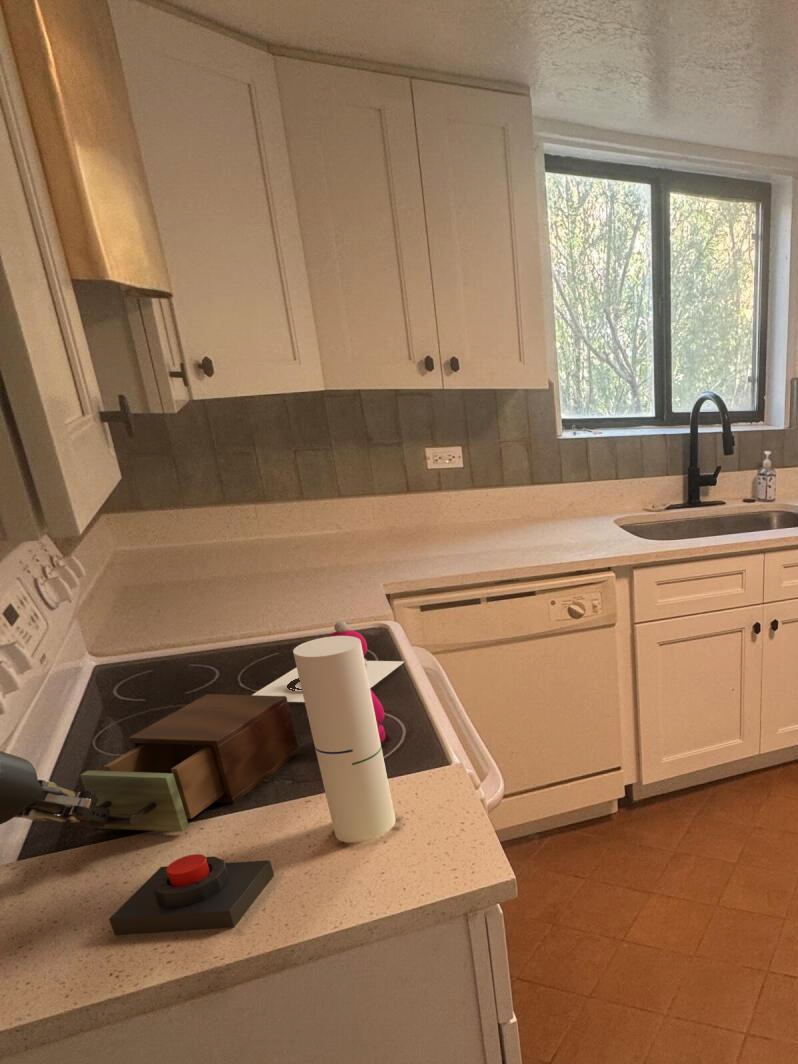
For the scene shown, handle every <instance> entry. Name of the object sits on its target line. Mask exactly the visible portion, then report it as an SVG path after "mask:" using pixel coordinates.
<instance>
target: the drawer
mask: <svg viewBox="0 0 798 1064" xmlns="http://www.w3.org/2000/svg"><path fill="white" fill-rule="evenodd" d="M102 768H103V770H86V771H84V772H82V773H81V774H80V775H79V776H80V779H81V782H82V784H83V787H84V791H86V790H87V791H91V792H93V793H95V795H96V797H97V799H98V802H97V804H96V806H100V807H103V808H107V809H109V810H110V814H109V817H108V819H107V822H106V824H105V826H104V827H97V828H98V829H103V830H104V829H105V830H106V829H107V830H128V831H129V830H131V831H151V832H153V831H154V832H177V833H179V832H180V833H183V832H184V831H186V830H187V829H188V828H190V825H189V821H188V820H190V819H193V818H195V817H196V816H197V815H199V814H200V813H201V812H202V811H204V810H205V809H207V808H208V807H210V805H213V802H215V801H216V800H217V799H219V798H220V797H221V796H223V795H224V794H225V793H226V792H225V788H224V785H223V781H222V778H221V774H220V770H219V767H218V763H217V760H216V756H215V752H214V749H213V746H203V745H173V744H141V745H140V746H138V747H136V748H134V749H133V750H132V749H130V750H129V751H127V752H126V753H124V754H122V755H121V756H119V757H117V758H115V759H113V760H112V761H110V762H108V763H107V764H105V765H103V766H102Z"/></svg>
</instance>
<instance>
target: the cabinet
mask: <svg viewBox="0 0 798 1064" xmlns="http://www.w3.org/2000/svg"><path fill="white" fill-rule="evenodd" d="M290 710H291V709H290V707H289V702H288V701H287V697H286V696H260V695H253V694H222V693H221V694H219V693H218V694H217V693H206V694H205V695H203V696H201V697H199V698H197V699H195V700H194V701H192V702H189V704H187V705H185V706H183V707H181V708H179V709H177V710H176V711H173V712H172V713H170V714H168V715H167V716H165V717H163V718H161V719H160V720H158V721H156V722H154V723H152V724H151V725H148V726H147V727H145V728H143V729H142V730H140V731H138V732H136V733H134V734H132V735H131V736H128V738H127V739H128V742H129V746H130V750H133V749H134V748H136V747H138V746H140V745H141V744H173V745H203V746H213V749H214V752H215V756H216V760H217V763H218V767H219V770H220V774H221V778H222V781H223V785H224V788H225V792H226V793H225V794H224V795H223V796H221V797H220V798H219V799H217V800H216V801H215V802H213V803H214V804H216V803H217V804H235V803H237V802H238V801H239V800H240V799H242V798H243V797H244V796H245V795H247V794H248V793H249V792H251V791H252V790H253V789H254V788H256V787H257V786H258V785H260V784H261V783H263V782H264V781H265V780H267V779H268V778H269V777H270V776H272V775H273V774H274V773H276V772H277V771H278V770H279V769H281V768H282V767H283V766H285V765H286V764H287V763H288V762H290V761H291V760H292V759H293V758H295V757H297V756H298V755H299V754H300V749H299V745H298V740H297V736H296V735H297V734H296V732H295V728H294V724H293V719H292V715H291V711H290ZM213 803H212V804H213Z"/></svg>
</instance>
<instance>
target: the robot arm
mask: <svg viewBox="0 0 798 1064" xmlns="http://www.w3.org/2000/svg"><path fill="white" fill-rule="evenodd" d="M97 802H98V799H97V797H96V795H95V793H93V792H91V791H87V790H81V791H77V792H75V791H73V790H70V789H67V788H65V787H64V788H63V787H60V786H58V784H57V783H55V782H53V781H49V780H44V779H38V774H37V770H36V769H35V767H34V765H33V764H32V763H31V762H30V761H29V760H27V759H25V758H23V757H21V756H17V755H14V754H11V753H8V752H4V751H1V750H0V825H2V824H5V823H7V822H9V821H10V820H12V819H15V818H16V819H21V818H22V819H25V820H29V821H35V822H46V821H49V822H56V823H62V822H64V823H66V822H69V823H71V824H72V823H74V824H78V825H81V826H85V827H89V828H98V827H104V826H105V824H106V822H107V819H108V817H109V814H110V810H109V809H107V808H103V807H100V806H96V804H97Z"/></svg>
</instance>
